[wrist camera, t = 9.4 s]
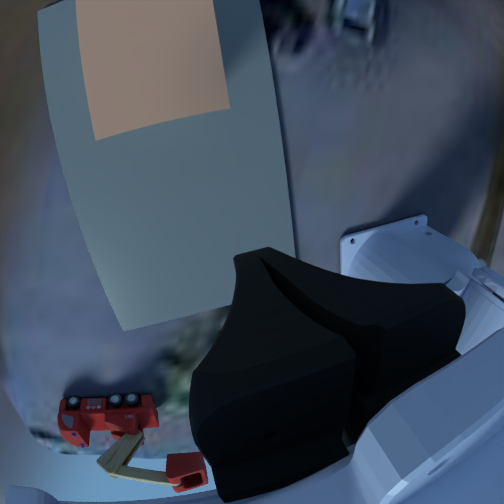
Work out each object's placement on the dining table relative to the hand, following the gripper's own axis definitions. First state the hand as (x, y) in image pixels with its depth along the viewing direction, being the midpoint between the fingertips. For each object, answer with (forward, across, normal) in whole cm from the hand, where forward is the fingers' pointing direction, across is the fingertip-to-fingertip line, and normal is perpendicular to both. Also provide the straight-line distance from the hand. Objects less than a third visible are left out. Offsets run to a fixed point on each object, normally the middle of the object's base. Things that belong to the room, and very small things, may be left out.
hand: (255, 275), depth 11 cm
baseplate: (+10, +2, -4) cm, 11 cm away
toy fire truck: (+11, +13, +17) cm, 24 cm away
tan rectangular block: (+5, +2, -10) cm, 11 cm away
